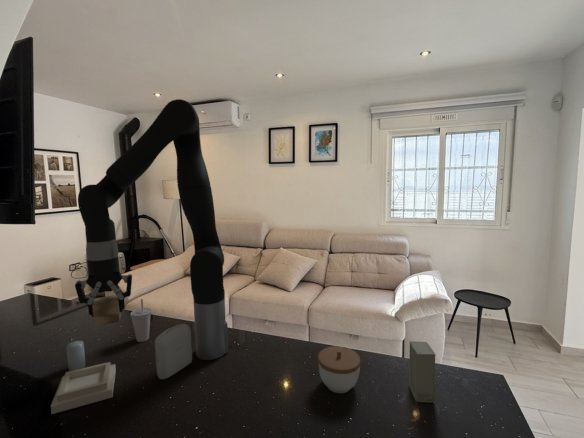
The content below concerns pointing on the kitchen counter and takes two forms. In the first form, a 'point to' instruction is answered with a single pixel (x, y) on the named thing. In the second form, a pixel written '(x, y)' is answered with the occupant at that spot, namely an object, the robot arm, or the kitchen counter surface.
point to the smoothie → (141, 322)
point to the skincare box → (422, 371)
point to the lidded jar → (339, 368)
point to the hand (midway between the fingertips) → (107, 313)
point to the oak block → (106, 310)
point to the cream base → (84, 387)
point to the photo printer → (173, 350)
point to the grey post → (76, 355)
